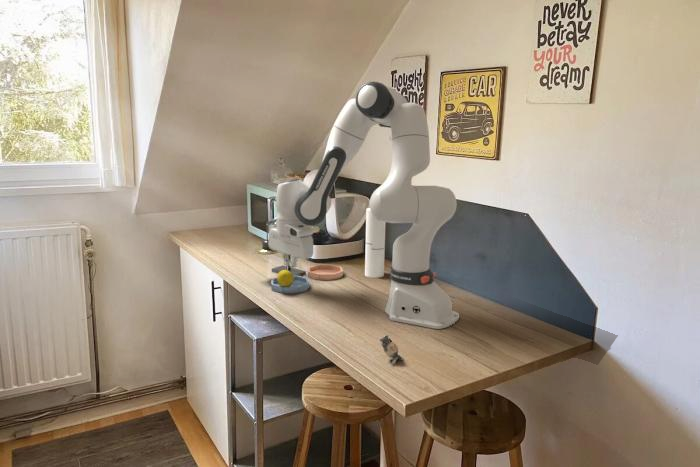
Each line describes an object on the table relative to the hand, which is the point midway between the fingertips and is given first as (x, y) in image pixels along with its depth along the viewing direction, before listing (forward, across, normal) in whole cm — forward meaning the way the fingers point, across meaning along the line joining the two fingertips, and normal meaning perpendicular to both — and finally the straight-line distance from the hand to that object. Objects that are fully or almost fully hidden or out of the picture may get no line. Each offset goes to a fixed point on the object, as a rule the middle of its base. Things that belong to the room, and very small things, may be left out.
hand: (290, 266), depth 187 cm
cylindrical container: (+8, +10, +33) cm, 35 cm away
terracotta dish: (+8, -3, +19) cm, 20 cm away
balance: (+8, -14, +10) cm, 19 cm away
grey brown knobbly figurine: (+8, +60, -17) cm, 63 cm away
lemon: (+6, 0, -1) cm, 6 cm away
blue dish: (+8, 0, 0) cm, 8 cm away
